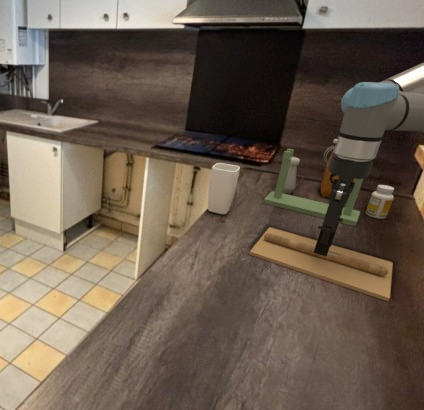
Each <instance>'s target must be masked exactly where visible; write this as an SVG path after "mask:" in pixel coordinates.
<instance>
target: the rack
mask: <svg viewBox="0 0 424 410" xmlns="http://www.w3.org/2000/svg"><path fill="white" fill-rule="evenodd" d="M294 152H295V149H292V148H287V149H286V150H284V151H283V155H282V161H281V166H280V169H279V174H278V176H277V177H278V178H277V181H276V186H275V189H274V190H271V191H270V192H269V193H268V194H267V195H266V196H265V197H264V198H263V201H262V203H263V204H264V205H269V206H272V207H277V208H281V209H284V210H288V211H292V212H296V213H300V214H305V215H308V216H312V217H316V218H320V219H324V218H325V215H326V212H327V209H328V206H329V203H325V202H322V201H317V200H314V199H308V198H305V197H300V196H295V195H291V194H284V193H283V189H284V185H285V181H286V178H287V174H288V170H289V166H290V162H291V158H290V157H294ZM363 182H364V179H356V178H355V180H354V183H355V186H354V188H353V191H352V192H351V193H350V196H349V199H348V201H347V203H346V204H345V205H344V207H343V210H342V215H341V216H340V218H343V221H342V222H339V221H338V222H339V223H338V224H343V225H346V226H347V225H348V226H352V227H356V226H357V223H358V221H359V219H360V215H361V210H356V209H354V207H355V205H356V201H357V199H358V196H359V193H360V190H361V187H362V185H363Z"/></svg>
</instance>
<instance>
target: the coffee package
mask: <svg viewBox="0 0 424 410" xmlns="http://www.w3.org/2000/svg"><path fill="white" fill-rule="evenodd" d="M333 155H335V153H334V150H333V151H332V152H331V155H330V156H329V158H328V159H327V162H328V163H327V162H326V165H325V166H324V169H323V172H322V177H321V182H320V195H321V197H323V198H328V199H329V197H330V194H331V191H332V189H331V187H332V184H333V182H334V180H335V179H339V176H337V175H334V174H332V173H330V172H329V171H328V167H329V164H330V160H331V157H332V156H333ZM354 180H355V178H354V179H353V182H354Z"/></svg>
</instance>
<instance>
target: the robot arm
mask: <svg viewBox="0 0 424 410" xmlns="http://www.w3.org/2000/svg"><path fill="white" fill-rule="evenodd" d="M340 108H341V111H342V112H343V113H344V114H343V117H342V121H341V125H340V128H339V131H338V136H337V138H334V139H333V140H332V143H333V144H335V145H334V147H335V148H334V150H333V151H334V153H335V155H333V156H332V157H331V160H330V164H329V167H328V171H329V172H330V173H332V174H334V175H337V176H339V179H335V180H334V182H333V184H332V187H331V189H332V191H331V194H330V197H329V198H328V200H329V203H328V204H329V206H328V209H327V212H326V215H325V218H323V221H322V225H318V226H317V229H319V230H320V231H319V234H318V237H317V240H316V241H317V243H316V246H315V249H314V253H317V254H320V255H323V256H327V254H328V251H329V248H330V247H331V245H333V241H334V237H335V235H336V232H337V229H338V226H339V224H340V223H339V222H342V221H343V218H340V216H341V215H342V210H343V207H344V208H345V205H346V203H347V201H348V199H349V196H350V193H351V192H352V191H353V188H354V186H355V183H354V182H353V179H354V178H356V179H363V180H364V179H367V178H368V177H369V176H370V172H371V170H372V167H373V164H374V162H373V160H374V159H376V157H377V154H378V152H379V148H380V146H381V142H382V139H383V136H384V134H385V131H387V132H388V131H389V132H390V131H392V132H393V131H396V132H418V133H423V132H424V62H421V63H419V64H417V65H415V66H413V67H410V68H409V69H406V70H404V71H402V72H400V73H397V74H395V75H393V76H391V77H389V78H386V79H384V80H382V81H380V82H375V81H374V82H373V81H363V82H362V81H361V82H359V83H356V84H355V85H354V87H351V88H350V89H348V90H347V91H346V92H345V94H344V95H343V96H342V98H341V102H340ZM336 144H337V145H336ZM338 221H339V222H338Z"/></svg>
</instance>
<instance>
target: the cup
mask: <svg viewBox="0 0 424 410" xmlns="http://www.w3.org/2000/svg"><path fill="white" fill-rule="evenodd" d="M240 170H241V166H239V165H235V164H229V163H224V162H216V163H215V164H213V166H211V172H210V178H209V184H208V194H207V195H208V196H207V210H208V212H210V213H213V214H217V215H220V216H224V215H226V214H228V212H229V211H230V209H231V206H232V202H233V201H234V196H235V193H236V188H237V185H238V180H239V176H240Z"/></svg>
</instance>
